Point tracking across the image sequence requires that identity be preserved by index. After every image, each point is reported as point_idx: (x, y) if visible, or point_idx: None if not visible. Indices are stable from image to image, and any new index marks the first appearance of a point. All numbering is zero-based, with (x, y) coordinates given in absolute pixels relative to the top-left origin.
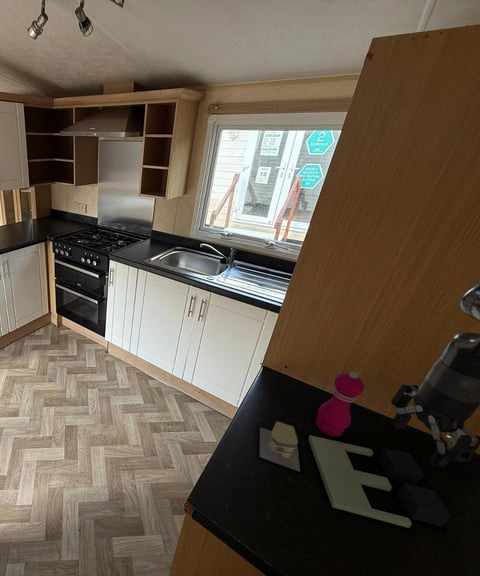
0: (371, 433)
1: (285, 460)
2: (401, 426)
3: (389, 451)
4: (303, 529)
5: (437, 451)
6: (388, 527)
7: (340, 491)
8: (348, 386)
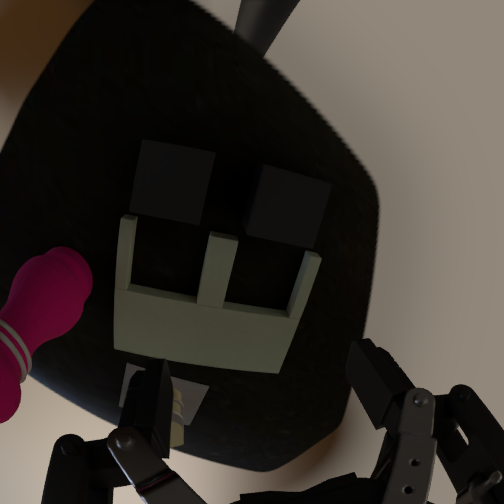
0: (63, 165)
1: (188, 398)
2: (167, 382)
3: (139, 202)
4: (306, 404)
5: (383, 426)
6: (313, 291)
7: (254, 355)
8: (7, 418)
